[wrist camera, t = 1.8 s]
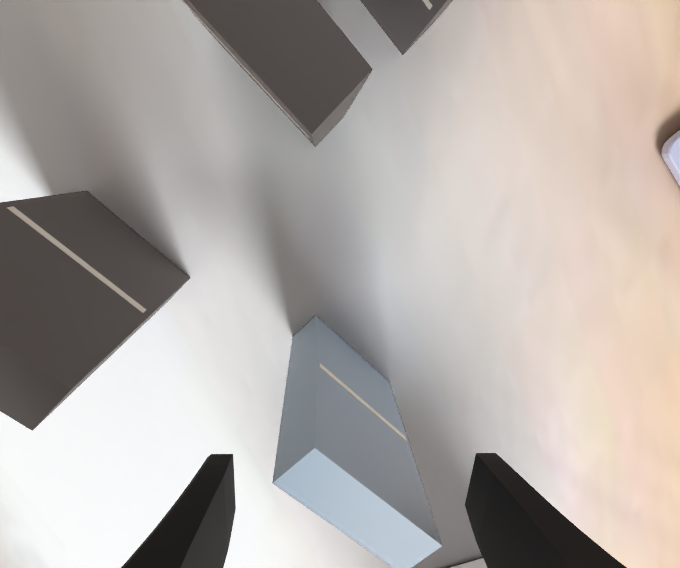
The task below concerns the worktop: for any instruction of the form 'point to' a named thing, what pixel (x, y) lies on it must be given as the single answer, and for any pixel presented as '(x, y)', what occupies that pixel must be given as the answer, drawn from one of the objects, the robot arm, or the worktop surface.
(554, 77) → the worktop surface
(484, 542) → the robot arm
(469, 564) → the milk carton
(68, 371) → the tile
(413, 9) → the tile
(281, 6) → the tile
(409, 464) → the tile
